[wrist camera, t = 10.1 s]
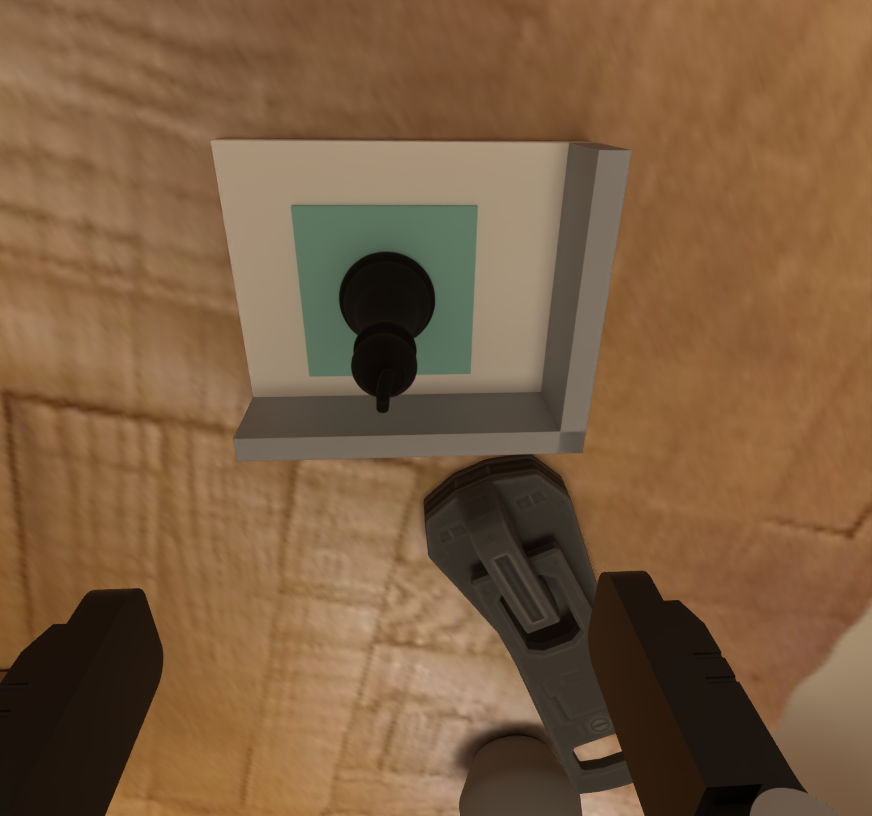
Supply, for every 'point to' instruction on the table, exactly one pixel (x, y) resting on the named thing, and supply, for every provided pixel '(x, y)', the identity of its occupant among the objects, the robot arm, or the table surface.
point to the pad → (387, 232)
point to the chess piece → (386, 321)
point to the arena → (493, 292)
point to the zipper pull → (530, 595)
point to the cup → (517, 781)
